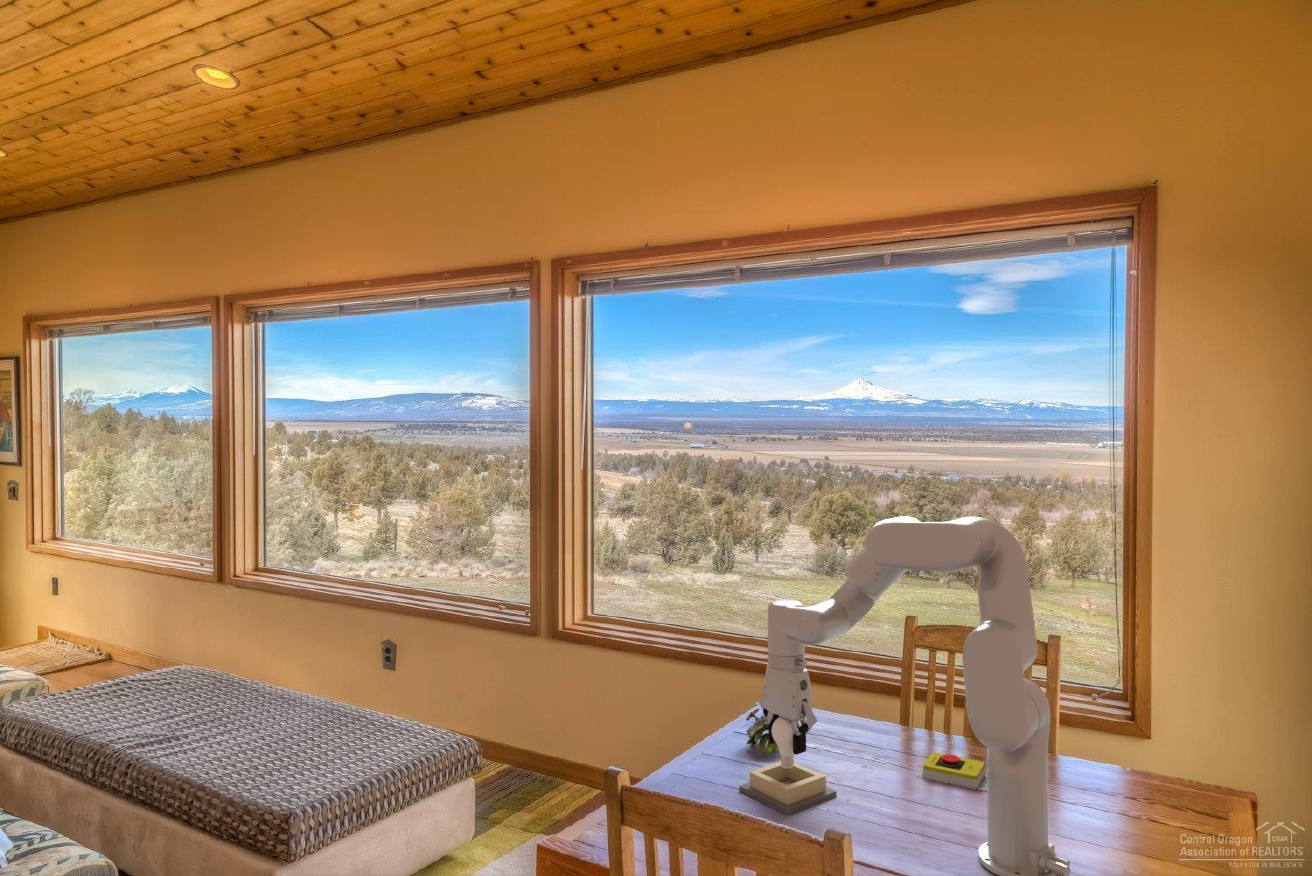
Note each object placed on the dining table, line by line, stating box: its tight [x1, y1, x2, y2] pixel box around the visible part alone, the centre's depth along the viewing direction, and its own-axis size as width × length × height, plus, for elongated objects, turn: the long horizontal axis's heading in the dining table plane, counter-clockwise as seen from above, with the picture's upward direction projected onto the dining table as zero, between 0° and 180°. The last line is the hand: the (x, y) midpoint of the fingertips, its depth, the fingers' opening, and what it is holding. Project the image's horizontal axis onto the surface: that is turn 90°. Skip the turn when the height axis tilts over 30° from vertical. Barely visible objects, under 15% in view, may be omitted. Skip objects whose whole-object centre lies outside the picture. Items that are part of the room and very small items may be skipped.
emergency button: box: [915, 752, 987, 792], centre depth 178 cm, size 9×4×15 cm
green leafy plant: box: [745, 707, 779, 758], centre depth 195 cm, size 11×11×12 cm
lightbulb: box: [772, 716, 801, 770], centre depth 170 cm, size 6×6×11 cm
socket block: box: [739, 761, 837, 816], centre depth 170 cm, size 14×14×4 cm
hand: (787, 746), depth 170 cm, fingers closed on lightbulb, 6 cm apart
